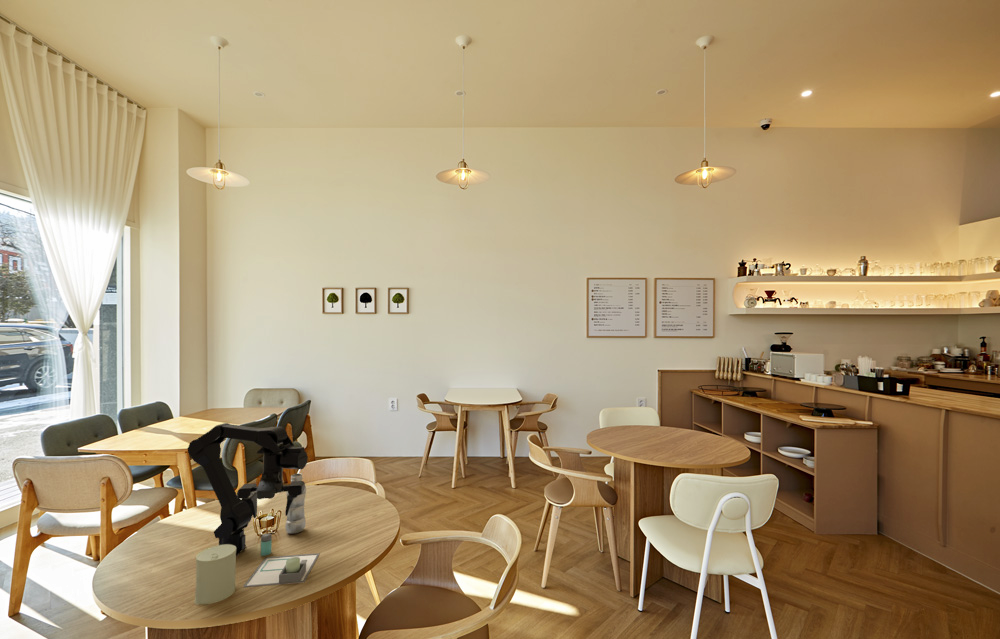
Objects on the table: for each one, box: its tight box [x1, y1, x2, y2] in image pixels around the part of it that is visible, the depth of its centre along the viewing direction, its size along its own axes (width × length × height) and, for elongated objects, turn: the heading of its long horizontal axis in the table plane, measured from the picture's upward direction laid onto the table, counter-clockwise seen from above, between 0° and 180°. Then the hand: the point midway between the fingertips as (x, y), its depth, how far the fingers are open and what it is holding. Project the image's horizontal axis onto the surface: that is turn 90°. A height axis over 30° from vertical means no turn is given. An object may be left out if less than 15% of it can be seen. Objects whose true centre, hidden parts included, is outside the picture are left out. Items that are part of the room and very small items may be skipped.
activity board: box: [242, 553, 320, 588], centre depth 127 cm, size 16×16×3 cm
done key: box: [286, 557, 300, 574], centre depth 122 cm, size 4×4×3 cm
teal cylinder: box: [260, 533, 273, 557], centre depth 136 cm, size 3×3×6 cm
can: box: [194, 544, 237, 606], centre depth 115 cm, size 9×9×12 cm
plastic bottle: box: [284, 473, 307, 535], centre depth 153 cm, size 6×7×20 cm
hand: (270, 516), depth 137 cm, fingers open, 9 cm apart
